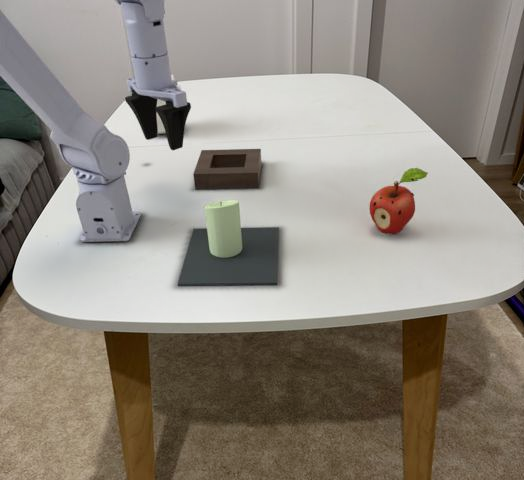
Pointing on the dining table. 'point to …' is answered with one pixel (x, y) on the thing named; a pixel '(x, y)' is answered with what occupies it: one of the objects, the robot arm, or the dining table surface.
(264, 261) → the mat
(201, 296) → the dining table surface
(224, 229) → the candle
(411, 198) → the apple
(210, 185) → the holder
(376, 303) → the dining table surface
